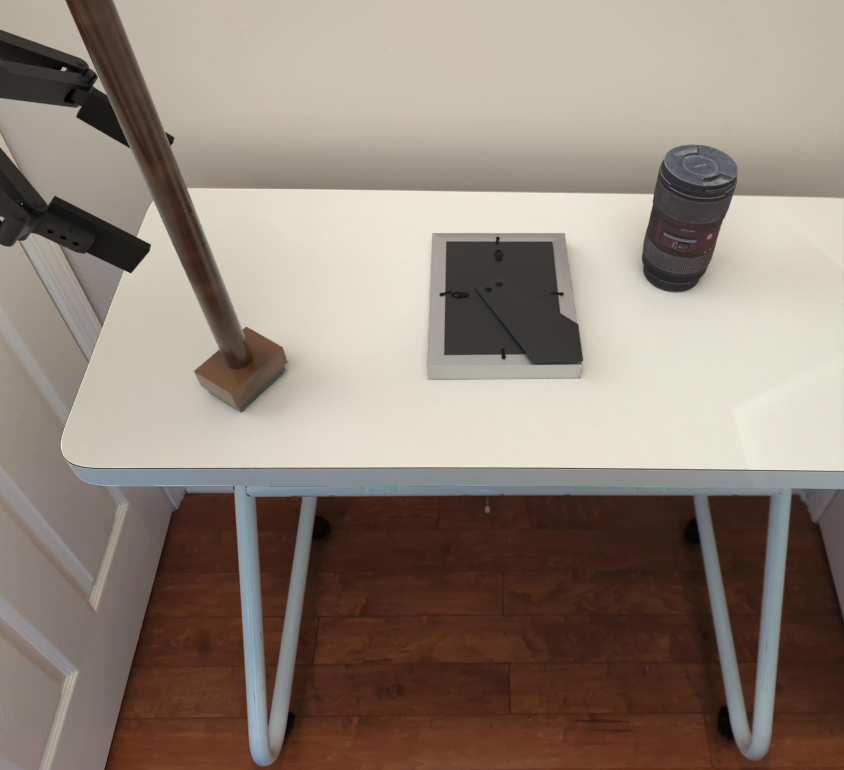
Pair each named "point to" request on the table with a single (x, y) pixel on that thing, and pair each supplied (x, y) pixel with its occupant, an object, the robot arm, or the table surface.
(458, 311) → the picture frame
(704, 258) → the camera lens
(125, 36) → the brown piece
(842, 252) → the table surface
